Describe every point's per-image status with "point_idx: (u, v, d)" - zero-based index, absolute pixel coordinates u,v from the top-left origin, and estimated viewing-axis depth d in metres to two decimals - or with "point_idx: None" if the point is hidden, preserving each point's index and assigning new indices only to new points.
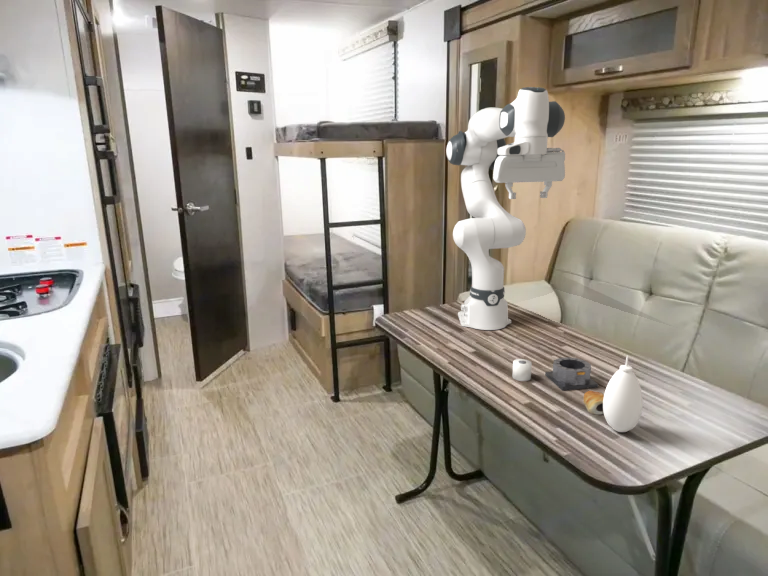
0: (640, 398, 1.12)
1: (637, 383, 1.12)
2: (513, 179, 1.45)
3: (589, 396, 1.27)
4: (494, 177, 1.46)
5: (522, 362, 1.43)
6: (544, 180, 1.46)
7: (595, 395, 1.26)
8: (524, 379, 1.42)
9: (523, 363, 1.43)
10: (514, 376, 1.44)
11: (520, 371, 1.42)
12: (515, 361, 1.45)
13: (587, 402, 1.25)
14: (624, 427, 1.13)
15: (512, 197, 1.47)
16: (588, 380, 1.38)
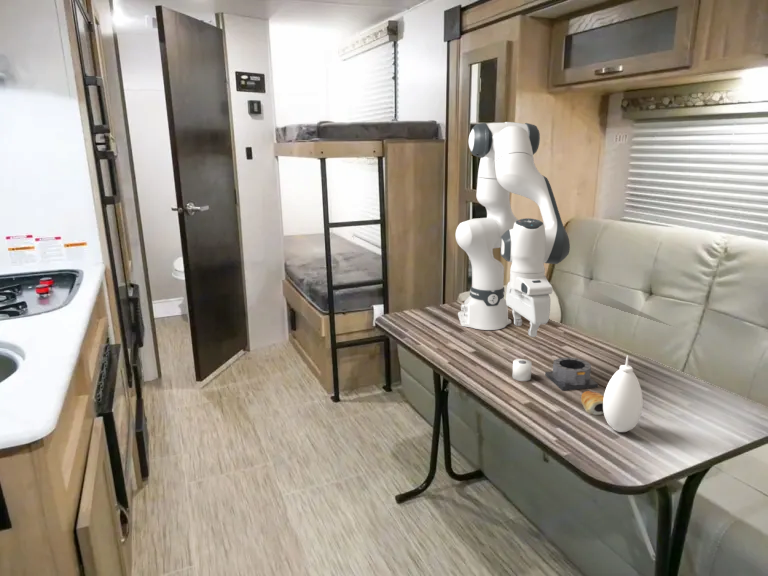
0: (640, 398, 1.12)
1: (637, 383, 1.12)
2: None
3: (587, 396, 1.26)
4: (540, 319, 1.30)
5: (522, 362, 1.43)
6: None
7: (593, 395, 1.26)
8: (524, 379, 1.42)
9: (523, 363, 1.43)
10: (514, 376, 1.44)
11: (520, 371, 1.42)
12: (515, 361, 1.44)
13: (585, 402, 1.25)
14: (624, 427, 1.13)
15: None
16: (588, 380, 1.38)
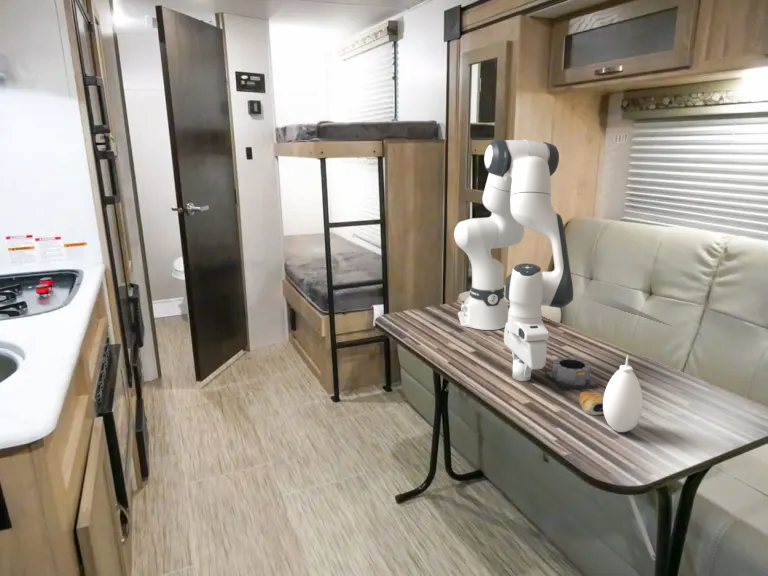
0: (640, 398, 1.12)
1: (637, 383, 1.12)
2: None
3: (585, 397, 1.26)
4: (537, 365, 1.33)
5: (522, 362, 1.43)
6: None
7: (591, 396, 1.26)
8: (524, 379, 1.42)
9: (523, 363, 1.43)
10: (514, 376, 1.44)
11: (520, 371, 1.42)
12: (515, 361, 1.45)
13: (584, 403, 1.25)
14: (624, 427, 1.13)
15: None
16: (588, 380, 1.38)
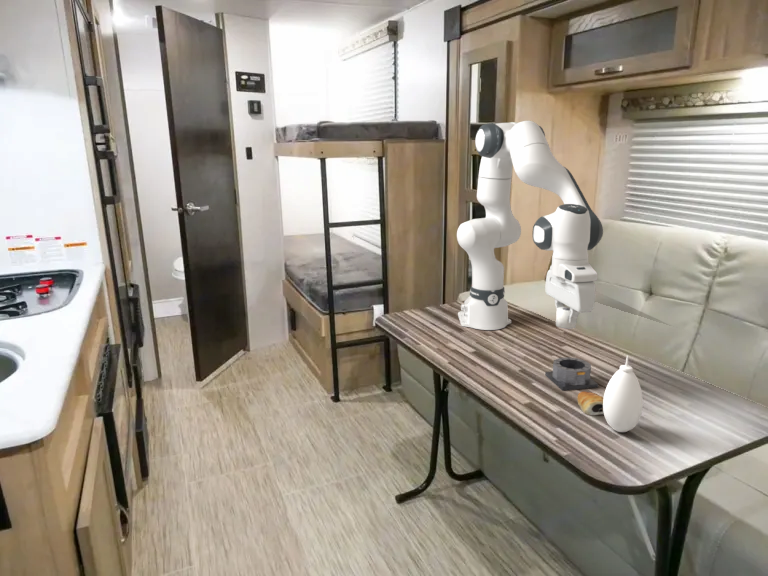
0: (640, 398, 1.12)
1: (637, 383, 1.12)
2: None
3: (584, 397, 1.26)
4: (585, 307, 1.26)
5: (566, 309, 1.36)
6: None
7: (590, 396, 1.26)
8: (569, 326, 1.35)
9: (568, 310, 1.36)
10: (558, 324, 1.37)
11: (565, 318, 1.35)
12: (559, 308, 1.38)
13: (582, 403, 1.25)
14: (624, 427, 1.13)
15: None
16: (588, 380, 1.38)
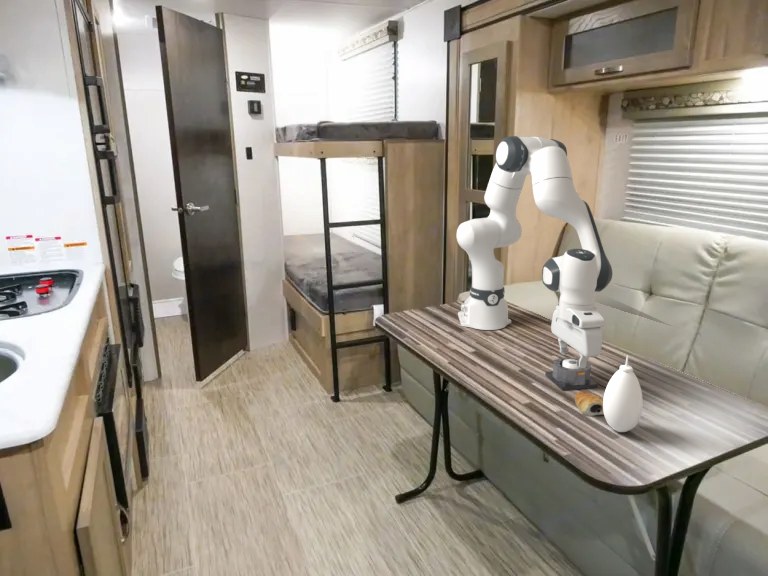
0: (640, 398, 1.12)
1: (637, 383, 1.12)
2: None
3: (581, 397, 1.26)
4: (592, 353, 1.29)
5: (572, 362, 1.40)
6: None
7: (587, 396, 1.26)
8: None
9: (573, 363, 1.39)
10: None
11: None
12: (565, 361, 1.41)
13: (580, 404, 1.25)
14: (624, 427, 1.13)
15: None
16: (588, 380, 1.38)
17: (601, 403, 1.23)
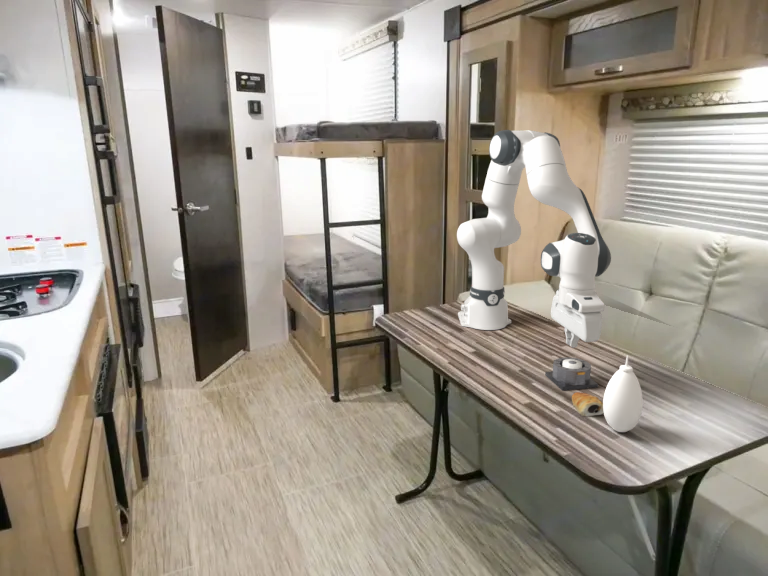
0: (640, 398, 1.12)
1: (637, 383, 1.12)
2: None
3: (579, 398, 1.26)
4: (591, 337, 1.28)
5: (572, 362, 1.40)
6: None
7: (585, 397, 1.25)
8: None
9: (573, 363, 1.39)
10: None
11: None
12: (565, 361, 1.41)
13: (578, 404, 1.24)
14: (624, 427, 1.13)
15: None
16: (588, 380, 1.38)
17: (599, 403, 1.23)
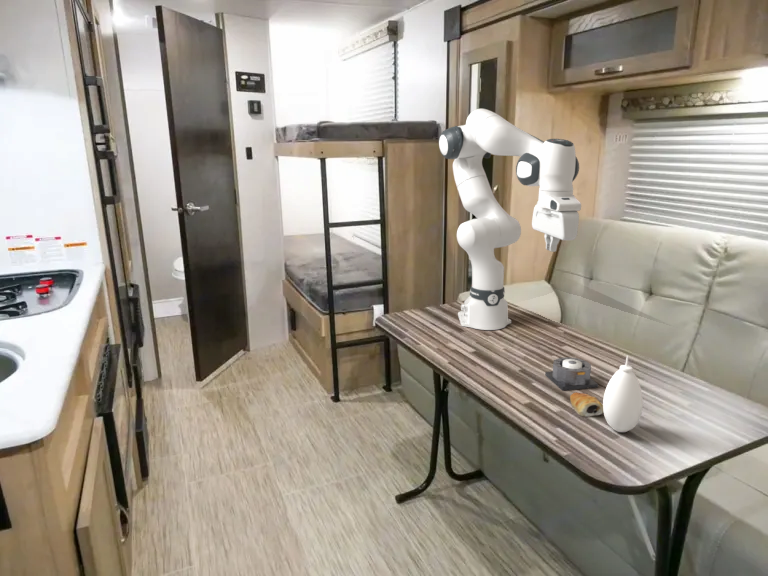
0: (640, 399, 1.12)
1: (637, 383, 1.12)
2: None
3: (577, 398, 1.26)
4: (569, 235, 1.34)
5: (572, 362, 1.40)
6: None
7: (583, 397, 1.25)
8: None
9: (573, 363, 1.39)
10: None
11: None
12: (565, 361, 1.41)
13: (577, 405, 1.24)
14: (624, 427, 1.13)
15: None
16: (588, 380, 1.38)
17: (598, 404, 1.23)
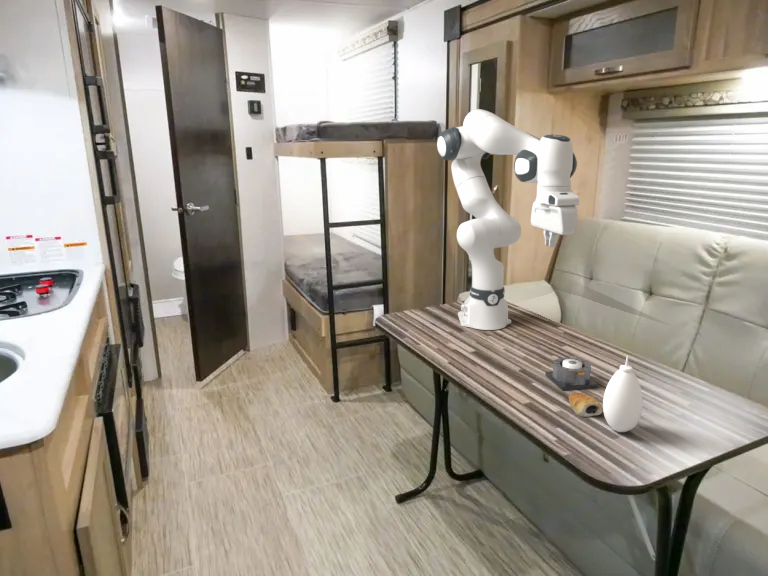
0: (640, 398, 1.12)
1: (637, 383, 1.12)
2: None
3: (576, 399, 1.25)
4: (567, 229, 1.34)
5: (572, 362, 1.40)
6: None
7: (582, 397, 1.25)
8: None
9: (573, 363, 1.39)
10: None
11: None
12: (565, 361, 1.41)
13: (575, 405, 1.24)
14: (624, 427, 1.13)
15: None
16: (588, 380, 1.38)
17: (596, 404, 1.23)
